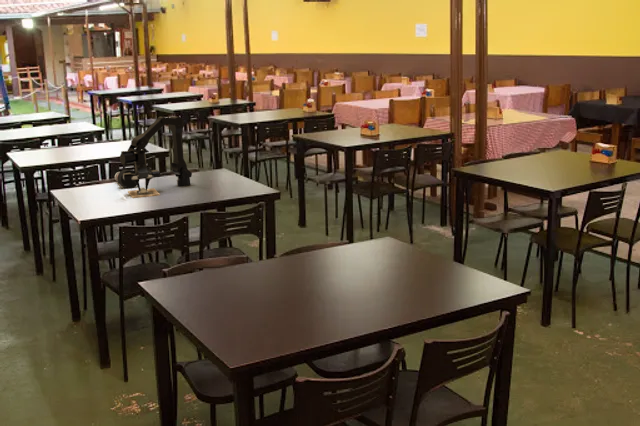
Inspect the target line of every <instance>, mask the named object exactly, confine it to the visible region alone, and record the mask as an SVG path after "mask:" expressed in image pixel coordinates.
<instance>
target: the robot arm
mask: <svg viewBox="0 0 640 426" xmlns="http://www.w3.org/2000/svg"><path fill="white" fill-rule="evenodd" d="M164 125H167V126H168V128H169V130H170V132H171V134H172V136H171V137H172V146H173V158H174V160H173V162H170V166H171V171H172V173H173V174H174V175H175V177H177V179H176V186H177V187H188V186H189V187H190V186H191V178H192V176H193V173H192V172H191V171H190V170H189V169H188V165H187V162H186V161H185V158H184V150H183V139H182V131H183V129H184V119H183V118H182V117H180V116H174V115H173V116H170V117H165V116H159V117H157V118H156V120H155V121H153V123H152V124H151V125H150V126H148V127H147V129H145V130H144V131H143V132H142V133H141V134H139V135H137V136H134V137H133V138H132V140H131V142H130V145H129V147H128V148H127V150H122V151H120V155H119V162H120V164H121V165H129V164H134V165H135V166H134V167H135V169H134V170H135V172H136V174H131V173H124V174H123V179H124V180H130V179H132V180H133V181H135V183H136V184H137V186H136V187H137V190H139V191H140V188H141V186H140V179H143V178H144V179H145V182H144V183H145V187H144V188H145V189H146V191H147V189H149V187H148V186H149V183H150V181H151V180H152V179H153V177H154V178H157V177H161V172H160V171H159V170H158V169H154V170H152V167H147V157H146V153H149V150H147V148H146V147H147V146H148V144H149V143H150V140H151V138H152V137H154V135H155V134H157V133H158V132H159V130H160V129H161V128H163V126H164ZM138 177H139V179H138ZM147 192H148V191H147Z"/></svg>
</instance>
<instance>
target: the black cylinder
mask: <svg viewBox="0 0 640 426" xmlns="http://www.w3.org/2000/svg"><path fill="white" fill-rule="evenodd" d="M124 173H131V174H136V170H134V169H133V170H132V169H122V170H121V171H118V172H116V173H115V175H114V180H115V181H116V182H118V184H119V185H120V186H121V187H123V188H127V189H134V188H135V187H137V184H136V183H135V181H133V180H132V179H130V180H124V179H123V174H124ZM138 179H139V180H140V178H139V177H138Z"/></svg>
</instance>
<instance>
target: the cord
mask: <svg viewBox="0 0 640 426" xmlns="http://www.w3.org/2000/svg"><path fill="white" fill-rule="evenodd" d="M145 192H148V191H146V188H145V187H142V186H140V191H139V193H145Z"/></svg>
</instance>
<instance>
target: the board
mask: <svg viewBox="0 0 640 426" xmlns="http://www.w3.org/2000/svg"><path fill="white" fill-rule="evenodd" d="M127 193H128V194H129V195H130V197H131V198H132V199H139V198H140V199H141V198H149V197H157V196H161V193H159V192H158V191H157V189H155V187H153V188H152V187H151V188H147V192H145V193H140V192H139V189H133V190H127Z"/></svg>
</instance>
